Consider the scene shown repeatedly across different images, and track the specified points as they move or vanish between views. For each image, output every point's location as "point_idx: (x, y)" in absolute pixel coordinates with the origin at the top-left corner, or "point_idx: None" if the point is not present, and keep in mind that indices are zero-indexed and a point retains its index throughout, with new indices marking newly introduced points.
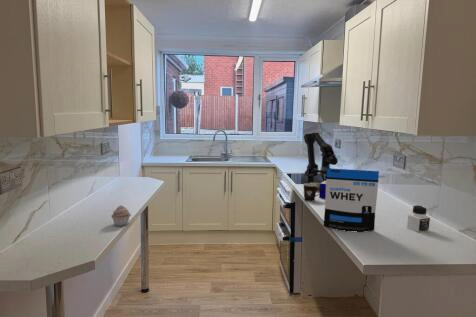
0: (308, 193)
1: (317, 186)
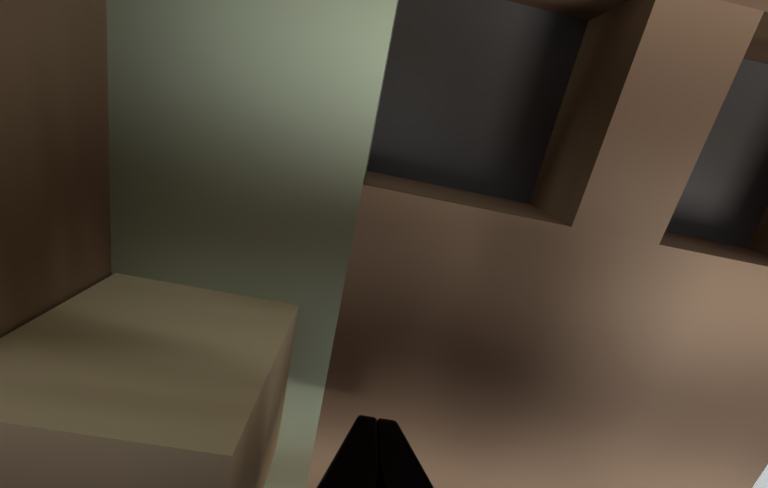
0: None
1: (634, 133)
